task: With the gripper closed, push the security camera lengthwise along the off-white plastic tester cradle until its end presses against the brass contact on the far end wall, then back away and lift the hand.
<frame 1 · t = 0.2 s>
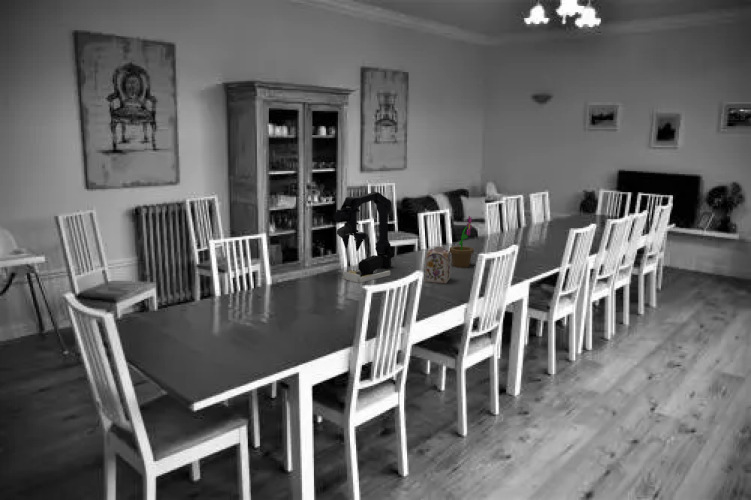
hand: (351, 249, 314), 14 cm above the table, tool pointing down, fingers open, 9 cm apart
decorative jar: (437, 280, 309), on the table
security camera: (369, 276, 314), on the table
tester cradle: (366, 277, 313), on the table
flowerpot: (460, 265, 343), on the table
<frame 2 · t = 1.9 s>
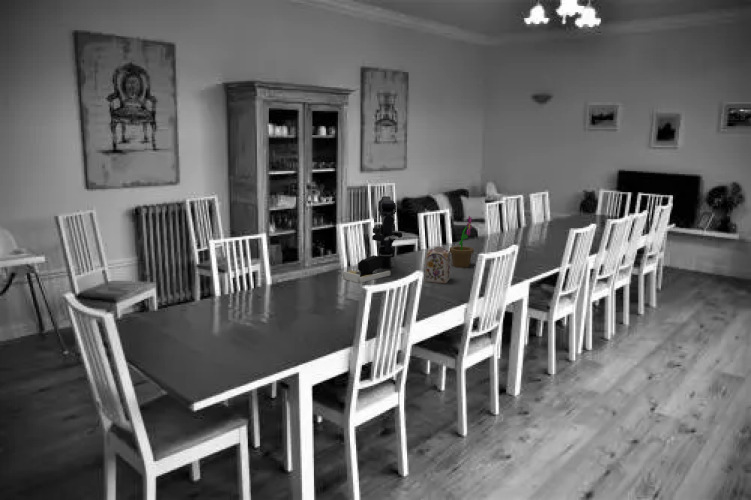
hand: (387, 251, 321), 12 cm above the table, tool pointing down, fingers closed
nothing on the table moved.
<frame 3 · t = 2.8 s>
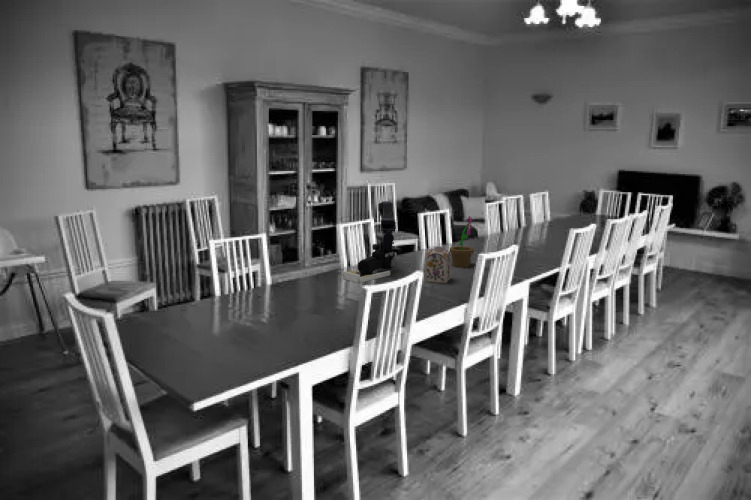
hand: (386, 267, 323), 3 cm above the table, tool pointing down, fingers closed
nothing on the table moved.
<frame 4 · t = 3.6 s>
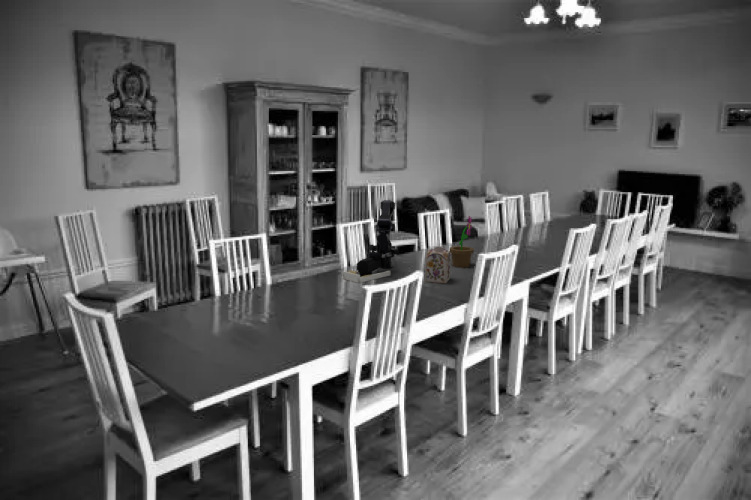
hand: (383, 268, 321), 3 cm above the table, tool pointing down, fingers closed
security camera: (367, 277, 313), on the table, touching gripper
everything else where it was.
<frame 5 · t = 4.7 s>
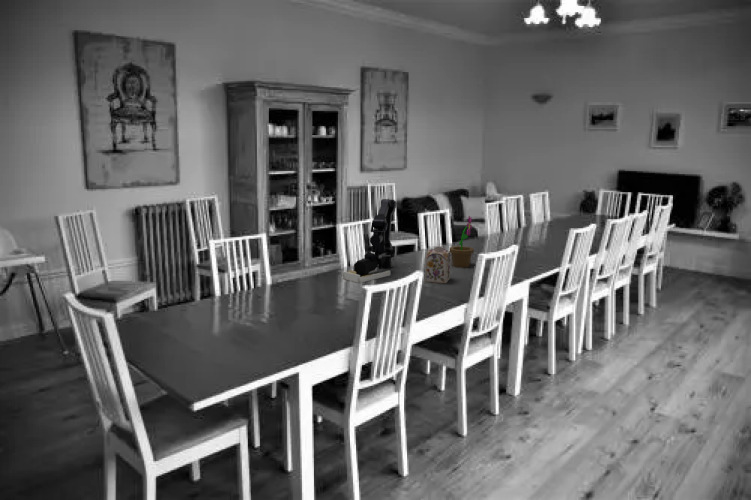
hand: (380, 268, 320), 3 cm above the table, tool pointing down, fingers closed
security camera: (364, 278, 311), on the table, touching gripper, tester cradle
everything else where it was.
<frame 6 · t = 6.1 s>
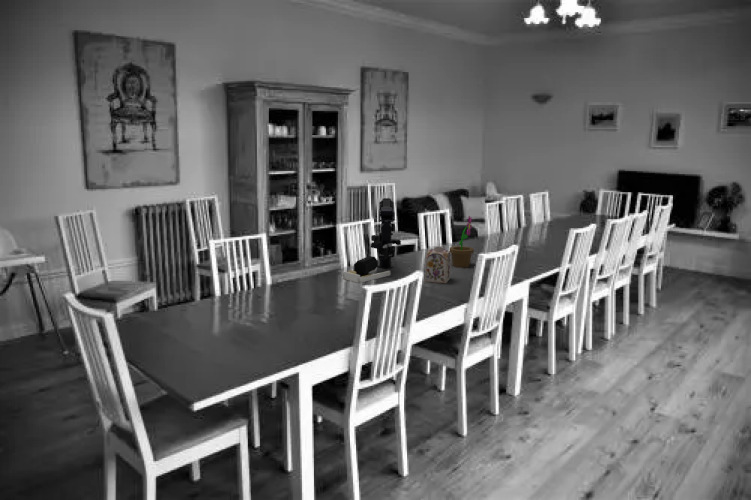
hand: (385, 259, 321), 8 cm above the table, tool pointing down, fingers closed
security camera: (364, 278, 311), on the table, touching tester cradle
everything else where it was.
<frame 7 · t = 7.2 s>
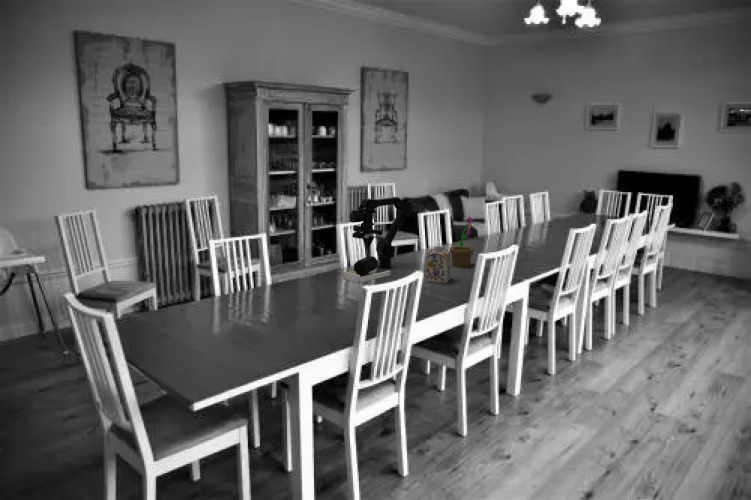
hand: (367, 248, 327), 12 cm above the table, tool pointing down, fingers closed
nothing on the table moved.
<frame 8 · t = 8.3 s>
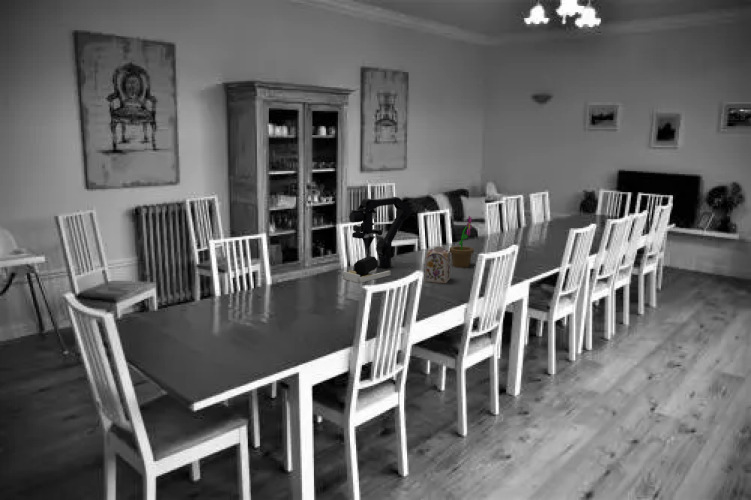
hand: (367, 248, 327), 12 cm above the table, tool pointing down, fingers closed
nothing on the table moved.
at the end: security camera 0.3 cm from the target spot on the tester cradle, point 0.0 cm above the tester cradle's base; security camera moved 3.9 cm from its start; security camera tilted 0° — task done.
